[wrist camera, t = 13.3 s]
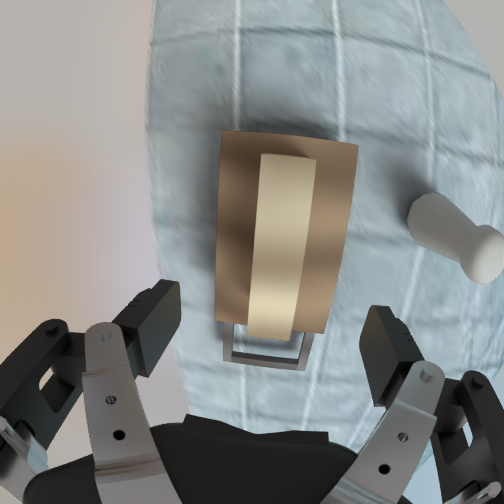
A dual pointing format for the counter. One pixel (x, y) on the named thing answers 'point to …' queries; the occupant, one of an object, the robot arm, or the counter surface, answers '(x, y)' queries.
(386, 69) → the counter surface
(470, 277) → the salt shaker
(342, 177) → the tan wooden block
